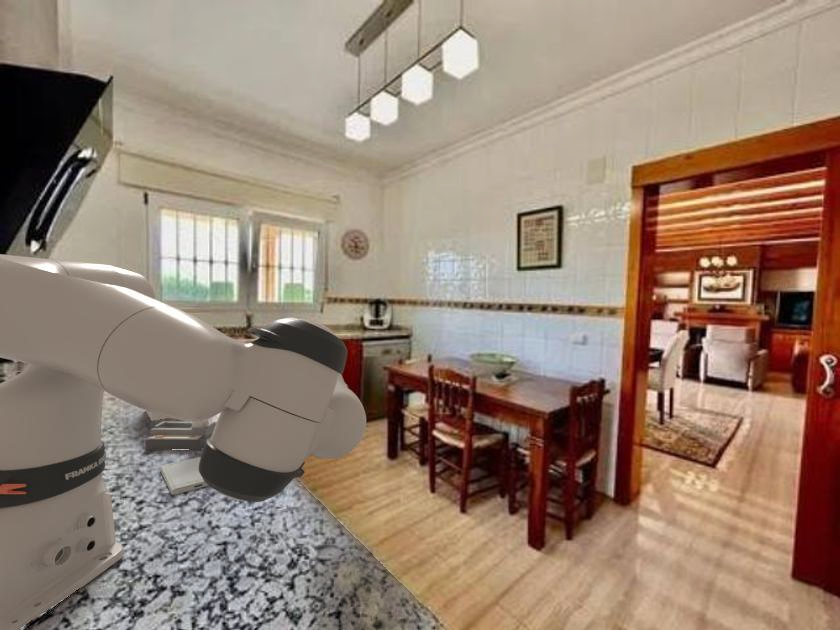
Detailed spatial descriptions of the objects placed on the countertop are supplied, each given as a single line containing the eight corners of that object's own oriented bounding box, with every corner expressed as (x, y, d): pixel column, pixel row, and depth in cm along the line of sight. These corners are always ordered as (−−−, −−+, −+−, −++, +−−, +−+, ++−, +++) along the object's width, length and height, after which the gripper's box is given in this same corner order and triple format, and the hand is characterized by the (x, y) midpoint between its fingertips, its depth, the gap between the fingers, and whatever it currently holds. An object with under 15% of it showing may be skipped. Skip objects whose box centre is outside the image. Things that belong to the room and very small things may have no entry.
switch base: (200, 450, 87) (201, 431, 87) (145, 450, 86) (145, 430, 86) (220, 435, 97) (220, 417, 96) (170, 434, 96) (170, 417, 96)
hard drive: (160, 465, 76) (172, 488, 67) (206, 455, 82) (223, 475, 72) (160, 473, 76) (171, 498, 67) (206, 463, 82) (222, 484, 72)
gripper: (267, 424, 82) (200, 423, 81) (291, 400, 103) (238, 399, 102) (268, 395, 82) (201, 394, 81) (292, 376, 103) (239, 375, 101)
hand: (222, 396), depth 91 cm, fingers closed
